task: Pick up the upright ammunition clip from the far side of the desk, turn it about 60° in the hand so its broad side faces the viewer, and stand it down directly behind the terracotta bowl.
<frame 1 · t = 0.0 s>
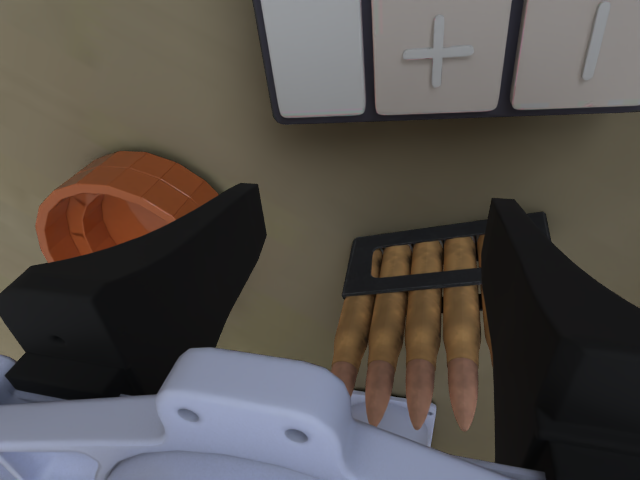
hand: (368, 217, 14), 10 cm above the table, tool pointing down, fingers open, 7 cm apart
ammunition clip: (444, 236, 26), on the table
bowl: (165, 227, 30), on the table
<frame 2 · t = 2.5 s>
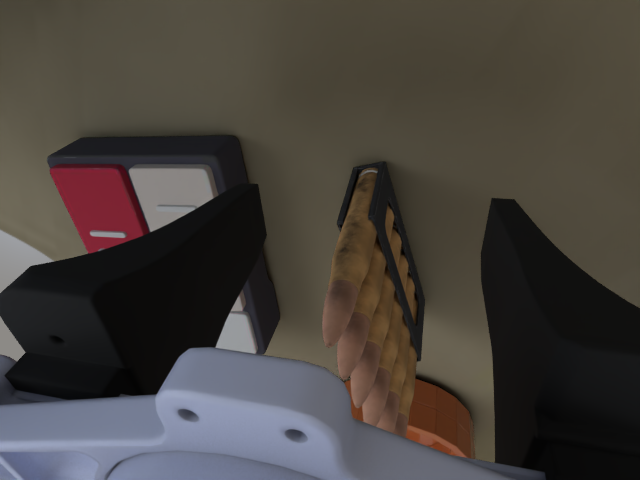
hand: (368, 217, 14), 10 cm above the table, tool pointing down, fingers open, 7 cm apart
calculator: (190, 234, 31), on the table
ammunition clip: (392, 238, 27), on the table
bowl: (398, 413, 38), on the table
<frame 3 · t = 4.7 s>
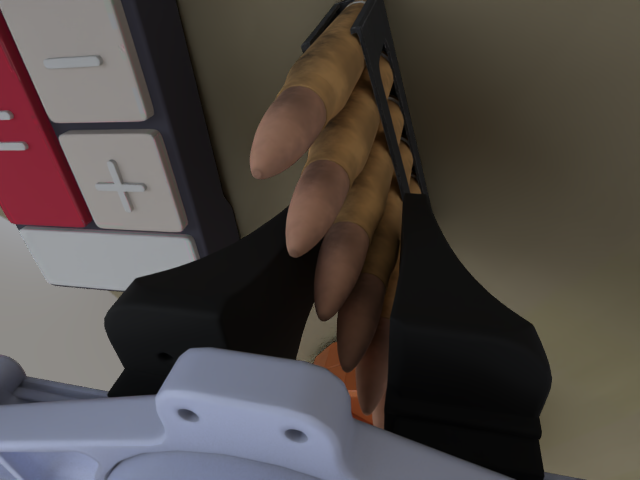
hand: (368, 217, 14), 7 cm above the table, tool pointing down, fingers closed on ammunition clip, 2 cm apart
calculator: (120, 138, 23), on the table
ammunition clip: (391, 127, 19), on the table, touching gripper
bowl: (397, 387, 30), on the table
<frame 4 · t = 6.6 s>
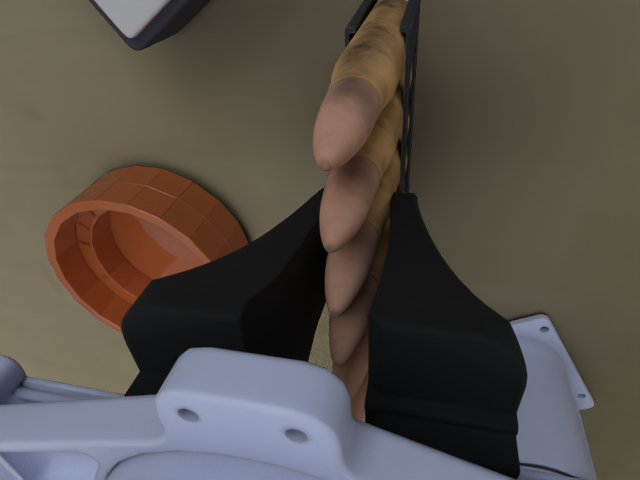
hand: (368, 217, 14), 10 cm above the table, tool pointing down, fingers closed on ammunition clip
ammunition clip: (391, 126, 19), point 3 cm above the table, touching gripper
bowl: (172, 240, 31), on the table
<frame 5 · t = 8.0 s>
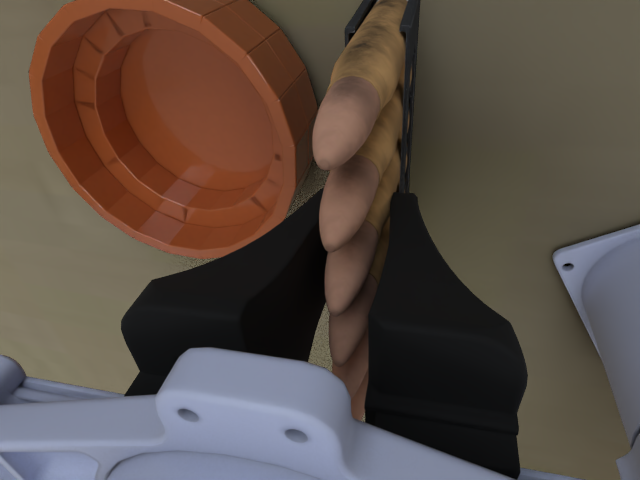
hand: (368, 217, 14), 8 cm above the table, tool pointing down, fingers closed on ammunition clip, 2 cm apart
ammunition clip: (391, 126, 19), point 1 cm above the table, touching gripper
bowl: (205, 111, 22), on the table
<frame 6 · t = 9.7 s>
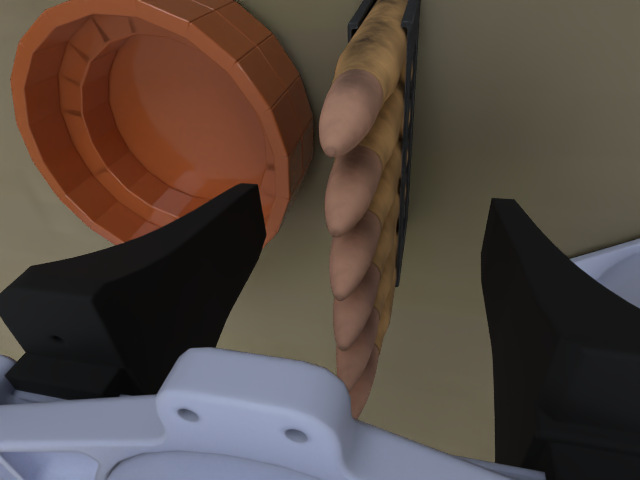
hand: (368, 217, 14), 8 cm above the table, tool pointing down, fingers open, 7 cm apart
ammunition clip: (392, 121, 20), on the table
bowl: (197, 118, 22), on the table
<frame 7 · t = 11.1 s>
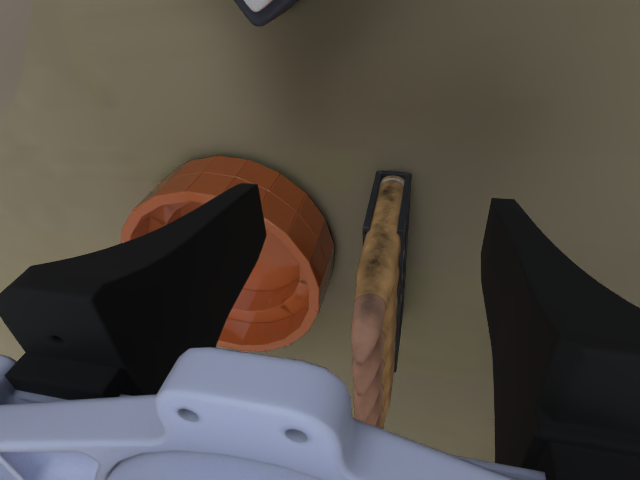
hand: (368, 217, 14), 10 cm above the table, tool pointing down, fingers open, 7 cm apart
ammunition clip: (391, 247, 27), on the table
bowl: (245, 236, 29), on the table
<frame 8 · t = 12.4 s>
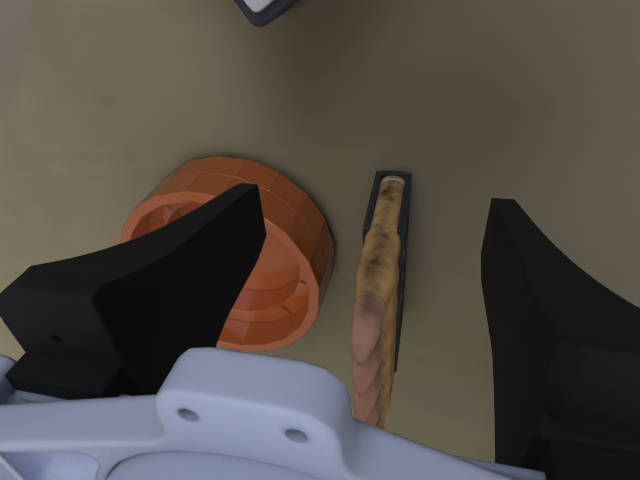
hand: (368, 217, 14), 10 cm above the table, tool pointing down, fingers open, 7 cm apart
ammunition clip: (391, 247, 27), on the table
bowl: (245, 236, 29), on the table
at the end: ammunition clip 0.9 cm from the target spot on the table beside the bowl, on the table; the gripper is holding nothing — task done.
